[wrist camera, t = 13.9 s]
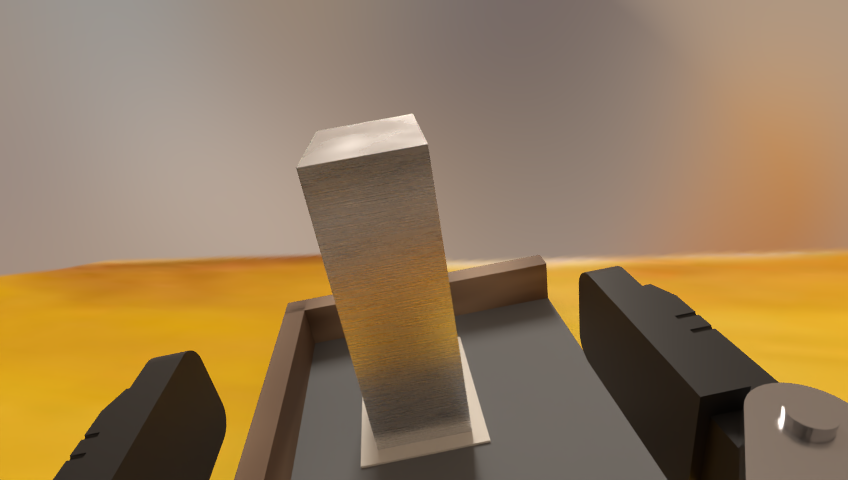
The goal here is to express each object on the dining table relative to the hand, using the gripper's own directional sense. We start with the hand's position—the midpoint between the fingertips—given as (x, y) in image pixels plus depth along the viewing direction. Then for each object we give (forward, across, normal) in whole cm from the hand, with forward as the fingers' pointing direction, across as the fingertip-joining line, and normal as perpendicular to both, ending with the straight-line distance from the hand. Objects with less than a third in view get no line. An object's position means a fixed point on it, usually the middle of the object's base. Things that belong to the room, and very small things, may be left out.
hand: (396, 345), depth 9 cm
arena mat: (+6, 0, +8) cm, 11 cm away
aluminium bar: (+7, 0, +8) cm, 11 cm away
